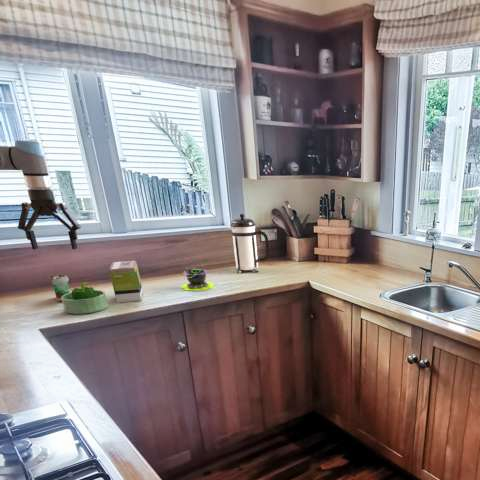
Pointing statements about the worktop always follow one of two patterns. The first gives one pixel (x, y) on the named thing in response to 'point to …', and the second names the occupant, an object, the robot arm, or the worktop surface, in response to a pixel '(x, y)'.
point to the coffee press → (246, 244)
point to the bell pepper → (83, 292)
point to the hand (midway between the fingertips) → (55, 248)
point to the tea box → (126, 281)
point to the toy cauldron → (196, 280)
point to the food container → (60, 285)
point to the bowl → (85, 303)
